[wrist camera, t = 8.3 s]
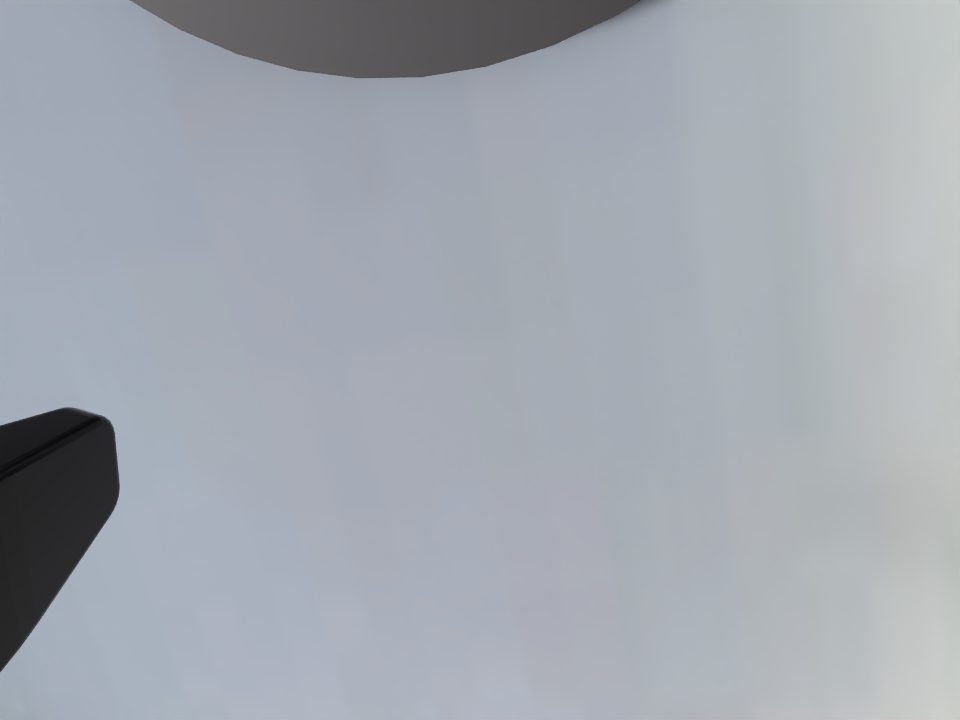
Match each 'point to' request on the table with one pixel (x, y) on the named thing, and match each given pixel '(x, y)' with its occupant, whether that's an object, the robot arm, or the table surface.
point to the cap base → (384, 31)
